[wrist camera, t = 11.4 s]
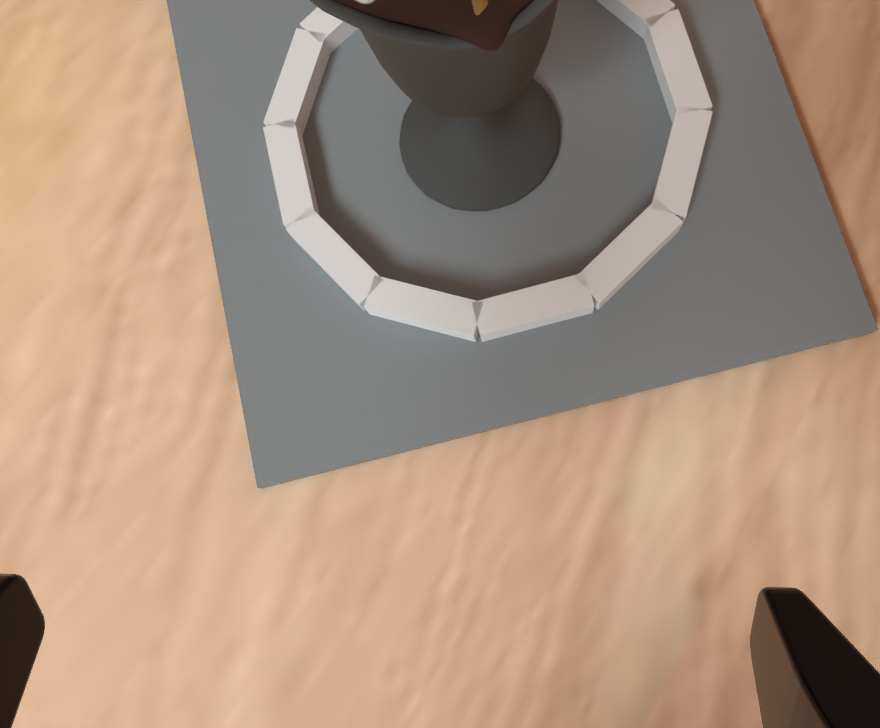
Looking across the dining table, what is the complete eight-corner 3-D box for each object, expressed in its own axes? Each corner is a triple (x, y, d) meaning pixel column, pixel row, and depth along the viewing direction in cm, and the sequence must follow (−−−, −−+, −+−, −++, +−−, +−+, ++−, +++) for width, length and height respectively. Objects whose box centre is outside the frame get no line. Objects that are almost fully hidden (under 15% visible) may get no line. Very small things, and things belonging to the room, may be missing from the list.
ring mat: (872, 332, 23) (890, 321, 22) (261, 488, 24) (247, 485, 23) (680, -179, 27) (686, -211, 26) (166, -24, 28) (150, -49, 27)
